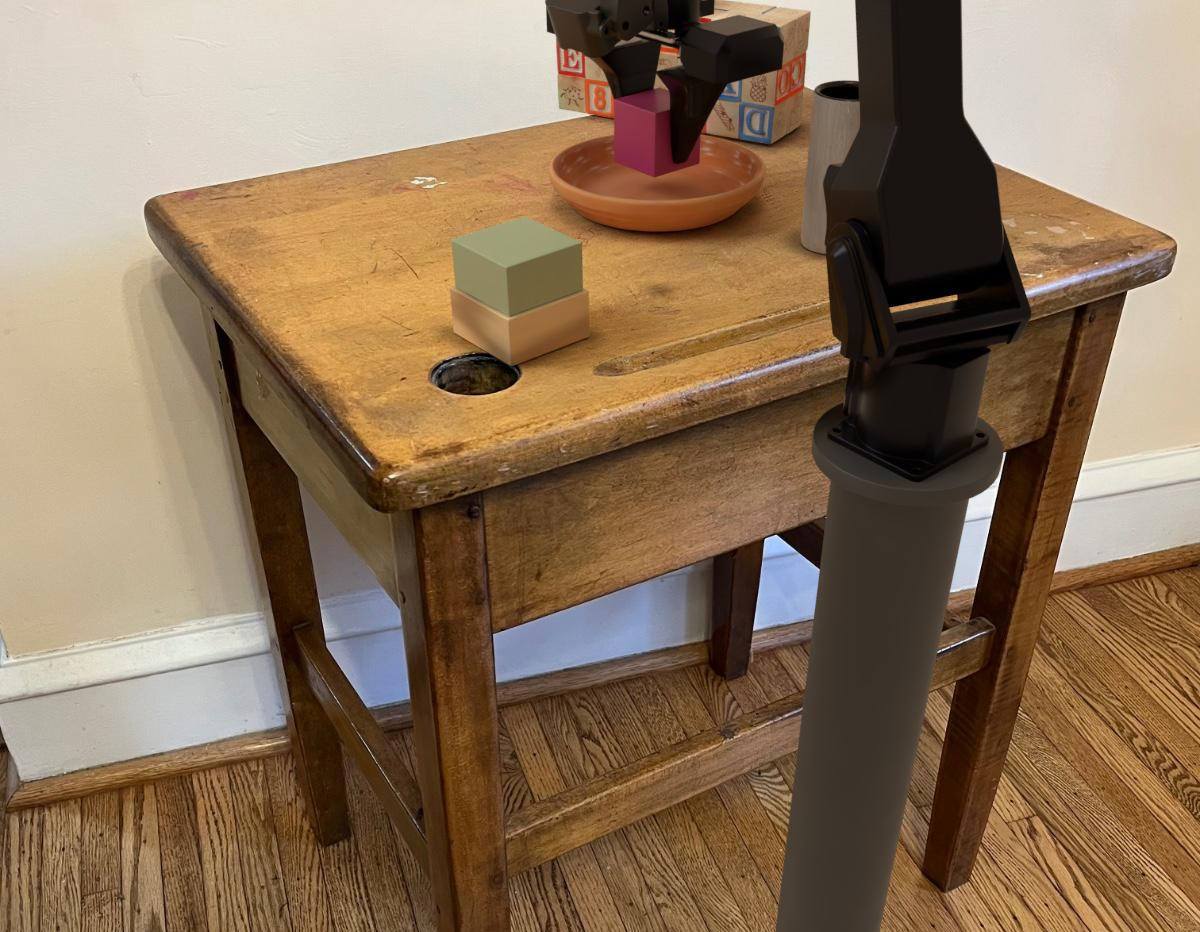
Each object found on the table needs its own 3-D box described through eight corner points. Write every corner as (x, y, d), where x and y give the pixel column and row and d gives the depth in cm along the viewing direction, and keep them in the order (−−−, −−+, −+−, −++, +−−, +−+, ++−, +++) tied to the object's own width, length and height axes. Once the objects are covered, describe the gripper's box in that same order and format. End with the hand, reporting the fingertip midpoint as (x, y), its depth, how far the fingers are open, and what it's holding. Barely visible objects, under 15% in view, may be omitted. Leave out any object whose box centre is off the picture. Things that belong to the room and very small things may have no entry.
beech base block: (590, 336, 75) (589, 290, 73) (511, 367, 72) (508, 320, 70) (530, 305, 79) (528, 260, 77) (453, 332, 76) (449, 286, 74)
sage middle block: (583, 290, 74) (582, 242, 72) (509, 317, 71) (506, 267, 69) (527, 262, 77) (525, 215, 75) (454, 287, 74) (450, 238, 72)
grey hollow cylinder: (875, 238, 87) (895, 86, 80) (849, 261, 84) (868, 104, 77) (816, 226, 89) (831, 76, 82) (789, 247, 86) (802, 93, 79)
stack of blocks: (802, 126, 106) (816, -31, 99) (771, 147, 102) (783, -15, 95) (592, 91, 115) (590, -56, 108) (555, 109, 111) (550, -43, 104)
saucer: (604, 156, 101) (604, 118, 99) (791, 183, 96) (794, 143, 94) (512, 223, 90) (510, 182, 88) (717, 258, 84) (719, 215, 83)
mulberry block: (700, 163, 91) (702, 100, 88) (654, 178, 88) (655, 113, 86) (658, 148, 93) (660, 86, 91) (613, 162, 91) (613, 99, 88)
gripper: (478, -89, 83) (493, 147, 92) (666, -47, 71) (661, 217, 81) (605, -109, 88) (607, 116, 98) (799, -73, 77) (779, 178, 86)
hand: (657, 154), depth 91 cm, fingers closed on mulberry block, 4 cm apart
